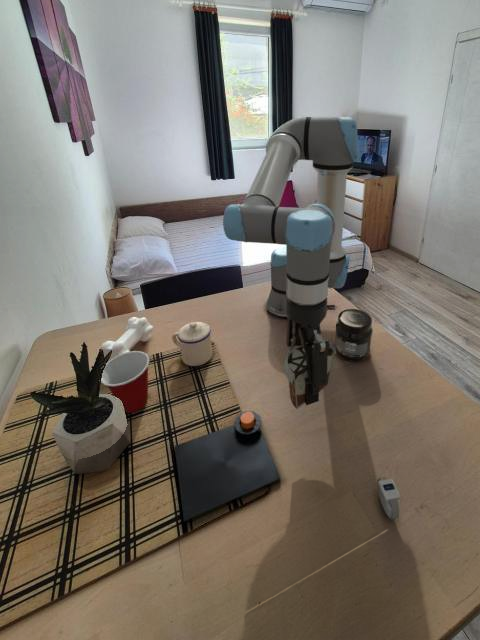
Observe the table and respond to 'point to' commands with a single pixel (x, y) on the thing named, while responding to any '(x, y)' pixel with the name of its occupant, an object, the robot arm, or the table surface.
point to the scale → (223, 468)
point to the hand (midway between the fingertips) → (304, 389)
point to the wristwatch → (389, 496)
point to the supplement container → (353, 335)
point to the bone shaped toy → (129, 337)
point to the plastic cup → (128, 379)
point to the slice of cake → (302, 373)
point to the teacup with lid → (194, 343)
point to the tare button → (247, 420)
